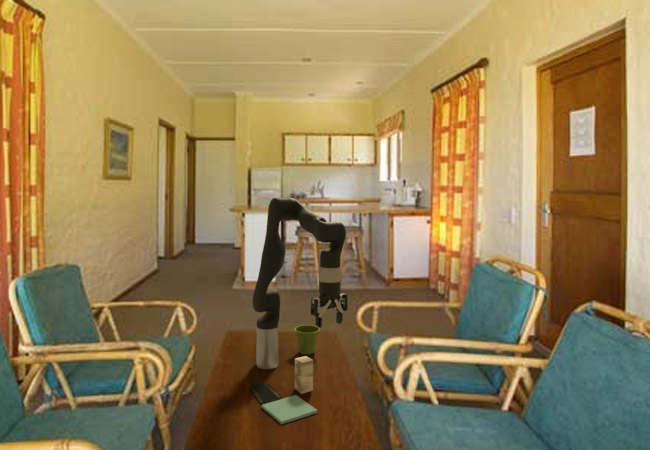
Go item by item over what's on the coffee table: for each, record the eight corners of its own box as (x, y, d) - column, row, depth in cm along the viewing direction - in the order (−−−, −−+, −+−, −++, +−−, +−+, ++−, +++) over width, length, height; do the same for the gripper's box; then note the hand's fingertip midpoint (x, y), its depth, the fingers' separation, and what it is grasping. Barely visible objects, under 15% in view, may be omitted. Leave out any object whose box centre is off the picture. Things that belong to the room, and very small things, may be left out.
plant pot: (289, 353, 218) (289, 329, 217) (303, 346, 228) (303, 323, 227) (310, 358, 212) (310, 334, 211) (324, 351, 222) (324, 327, 221)
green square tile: (261, 407, 165) (261, 404, 165) (295, 397, 173) (295, 394, 173) (281, 424, 154) (281, 421, 154) (317, 412, 162) (317, 410, 162)
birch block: (294, 388, 181) (294, 358, 179) (305, 385, 183) (305, 355, 182) (301, 393, 176) (301, 362, 175) (312, 390, 179) (313, 359, 178)
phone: (267, 382, 184) (282, 398, 171) (267, 385, 184) (282, 401, 171) (248, 386, 181) (261, 402, 167) (248, 389, 181) (261, 405, 168)
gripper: (339, 275, 170) (338, 319, 172) (306, 279, 162) (306, 325, 163) (352, 279, 164) (351, 324, 166) (319, 283, 156) (318, 331, 157)
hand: (329, 325), depth 165 cm, fingers open, 8 cm apart
